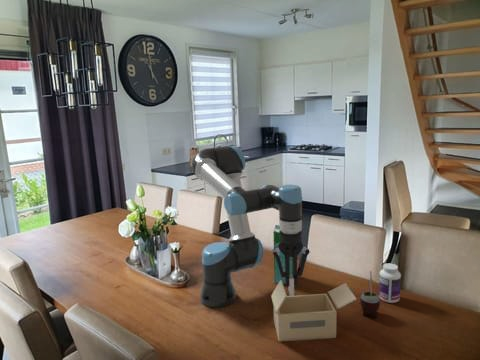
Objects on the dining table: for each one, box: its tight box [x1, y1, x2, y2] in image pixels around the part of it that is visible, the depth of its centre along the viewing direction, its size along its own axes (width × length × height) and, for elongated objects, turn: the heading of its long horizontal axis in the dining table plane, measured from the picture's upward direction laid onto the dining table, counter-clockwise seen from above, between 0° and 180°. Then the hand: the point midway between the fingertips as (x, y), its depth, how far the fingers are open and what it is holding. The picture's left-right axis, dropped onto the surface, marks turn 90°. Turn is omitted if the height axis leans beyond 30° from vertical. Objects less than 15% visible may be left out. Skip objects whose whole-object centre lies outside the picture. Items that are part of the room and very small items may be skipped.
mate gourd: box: [359, 270, 381, 319], centre depth 136 cm, size 8×8×15 cm
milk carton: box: [273, 224, 293, 285], centre depth 164 cm, size 9×9×25 cm
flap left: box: [270, 280, 288, 313], centre depth 127 cm, size 1×11×7 cm, turn 5°
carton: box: [273, 293, 338, 342], centre depth 129 cm, size 20×12×10 cm, turn 93°
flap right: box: [327, 282, 357, 310], centre depth 128 cm, size 1×11×7 cm
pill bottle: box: [378, 262, 402, 304], centre depth 146 cm, size 8×8×14 cm
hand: (291, 293), depth 127 cm, fingers closed
